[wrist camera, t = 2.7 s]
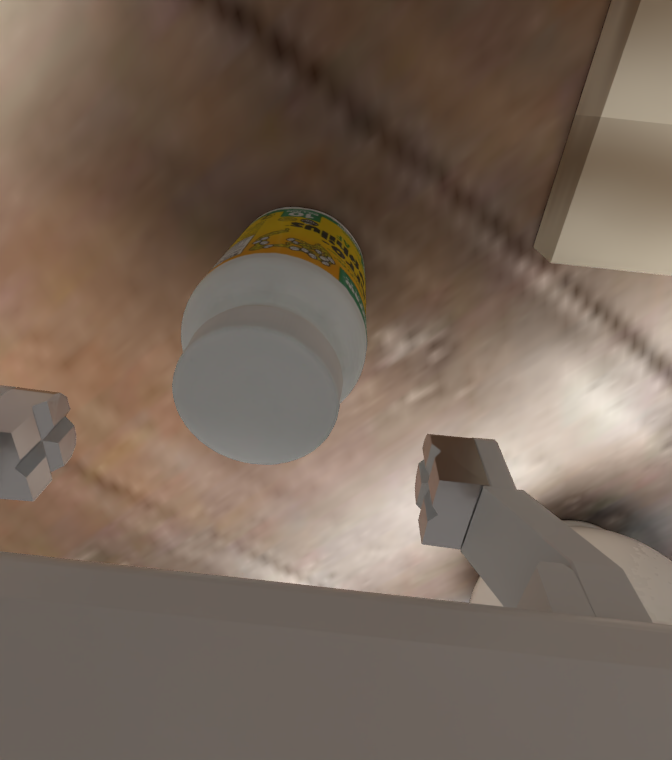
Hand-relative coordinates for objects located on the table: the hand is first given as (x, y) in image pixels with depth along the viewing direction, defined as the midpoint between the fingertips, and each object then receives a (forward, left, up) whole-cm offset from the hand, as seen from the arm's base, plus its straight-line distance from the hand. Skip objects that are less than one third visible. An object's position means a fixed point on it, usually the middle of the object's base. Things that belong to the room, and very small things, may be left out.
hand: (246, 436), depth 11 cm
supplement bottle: (-1, 0, -11) cm, 11 cm away
